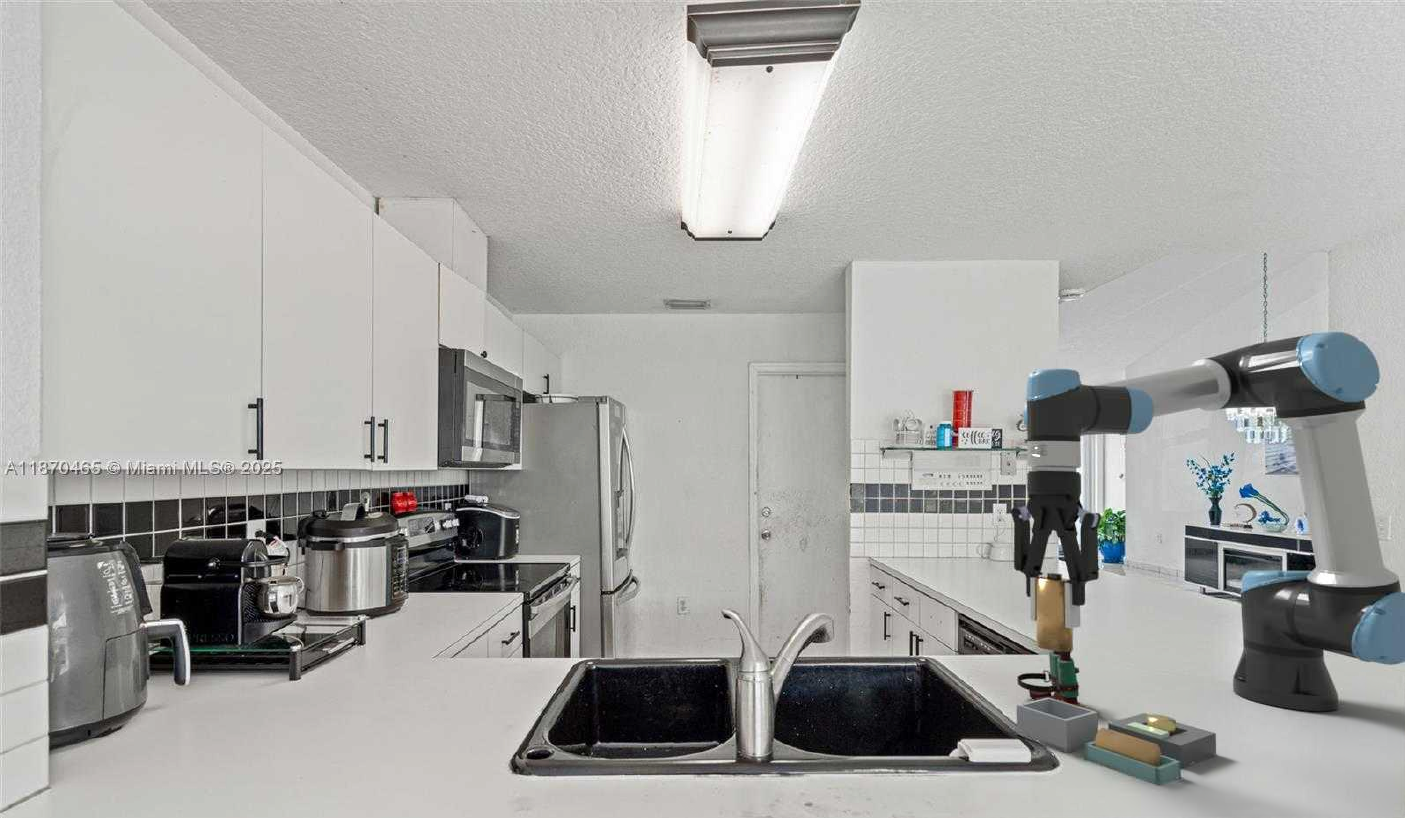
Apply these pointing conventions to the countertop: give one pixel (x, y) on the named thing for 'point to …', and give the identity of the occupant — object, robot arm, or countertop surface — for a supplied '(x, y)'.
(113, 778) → the countertop surface
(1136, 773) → the trough
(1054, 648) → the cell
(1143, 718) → the base
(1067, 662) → the binoculars
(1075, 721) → the open box
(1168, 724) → the yellow rounded lump
